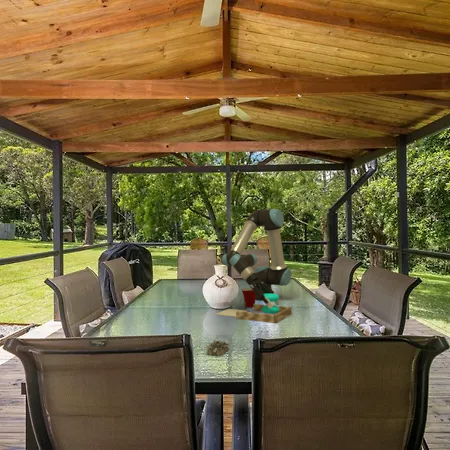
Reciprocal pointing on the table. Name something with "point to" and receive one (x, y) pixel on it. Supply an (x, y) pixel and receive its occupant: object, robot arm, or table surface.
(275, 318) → the wooden u-shaped frame
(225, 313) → the beige mat
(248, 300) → the plastic cup
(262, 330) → the table surface
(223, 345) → the rough brown lump
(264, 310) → the donuts
